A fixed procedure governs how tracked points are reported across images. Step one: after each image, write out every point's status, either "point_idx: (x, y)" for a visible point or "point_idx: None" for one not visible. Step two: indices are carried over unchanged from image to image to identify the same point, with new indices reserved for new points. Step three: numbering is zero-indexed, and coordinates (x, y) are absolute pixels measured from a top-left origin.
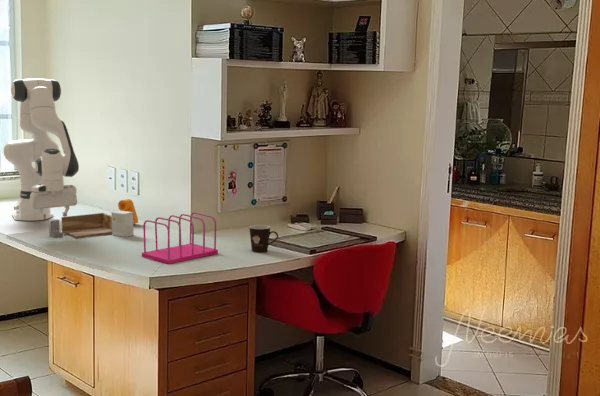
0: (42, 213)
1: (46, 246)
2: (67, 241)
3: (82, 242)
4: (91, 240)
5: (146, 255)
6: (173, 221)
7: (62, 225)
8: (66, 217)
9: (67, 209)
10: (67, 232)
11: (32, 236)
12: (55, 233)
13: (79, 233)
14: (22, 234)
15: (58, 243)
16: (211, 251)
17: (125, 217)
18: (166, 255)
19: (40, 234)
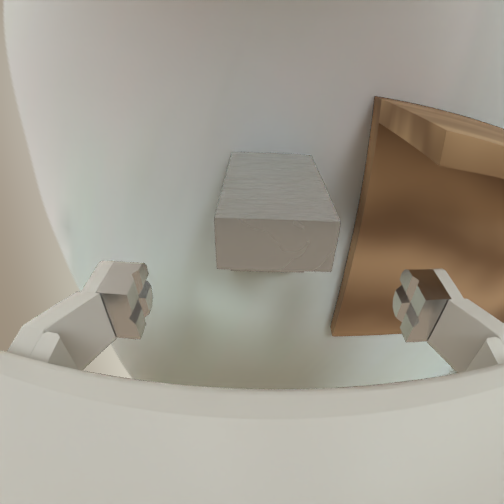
0: (91, 350)
1: (146, 373)
2: (261, 353)
3: (306, 387)
4: (358, 376)
5: None
6: None
7: (398, 126)
8: (477, 171)
9: (459, 371)
10: (365, 216)
11: (105, 119)
12: (241, 270)
13: (398, 287)
14: (65, 15)
15: (206, 363)
16: None
17: None
18: None
19: (181, 70)
